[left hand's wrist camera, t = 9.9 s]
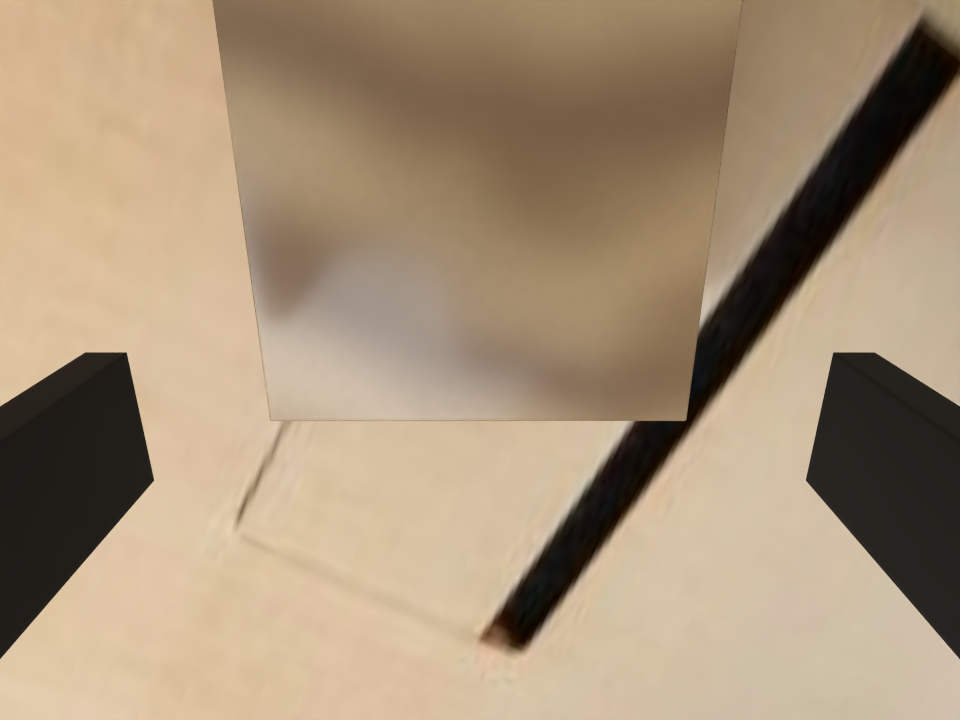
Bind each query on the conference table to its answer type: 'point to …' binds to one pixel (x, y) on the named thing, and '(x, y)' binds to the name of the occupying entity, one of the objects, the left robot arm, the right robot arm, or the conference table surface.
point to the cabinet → (477, 201)
